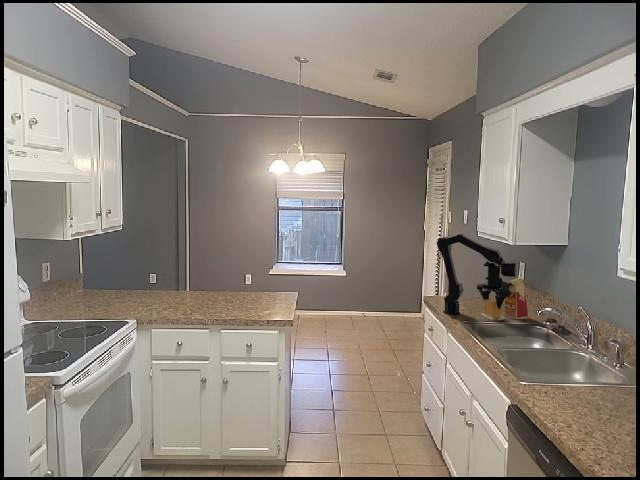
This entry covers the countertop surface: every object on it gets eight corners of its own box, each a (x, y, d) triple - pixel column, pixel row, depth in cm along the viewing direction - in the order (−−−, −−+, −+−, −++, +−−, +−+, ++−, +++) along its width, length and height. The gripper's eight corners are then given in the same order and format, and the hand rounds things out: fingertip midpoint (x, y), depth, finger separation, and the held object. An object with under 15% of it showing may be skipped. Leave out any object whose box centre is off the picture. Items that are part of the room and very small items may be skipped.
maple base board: (492, 320, 229) (492, 318, 229) (480, 316, 237) (480, 313, 237) (504, 319, 231) (504, 317, 231) (492, 315, 240) (492, 312, 239)
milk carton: (516, 313, 242) (517, 275, 240) (529, 318, 233) (530, 277, 231) (501, 315, 239) (502, 276, 237) (514, 319, 230) (515, 279, 228)
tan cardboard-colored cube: (491, 317, 231) (491, 301, 230) (484, 314, 236) (484, 299, 235) (501, 316, 232) (501, 301, 232) (493, 313, 238) (494, 298, 237)
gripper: (520, 277, 226) (519, 309, 227) (495, 271, 243) (494, 301, 245) (501, 279, 222) (500, 311, 224) (476, 273, 240) (475, 303, 242)
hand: (492, 306), depth 234 cm, fingers open, 9 cm apart
